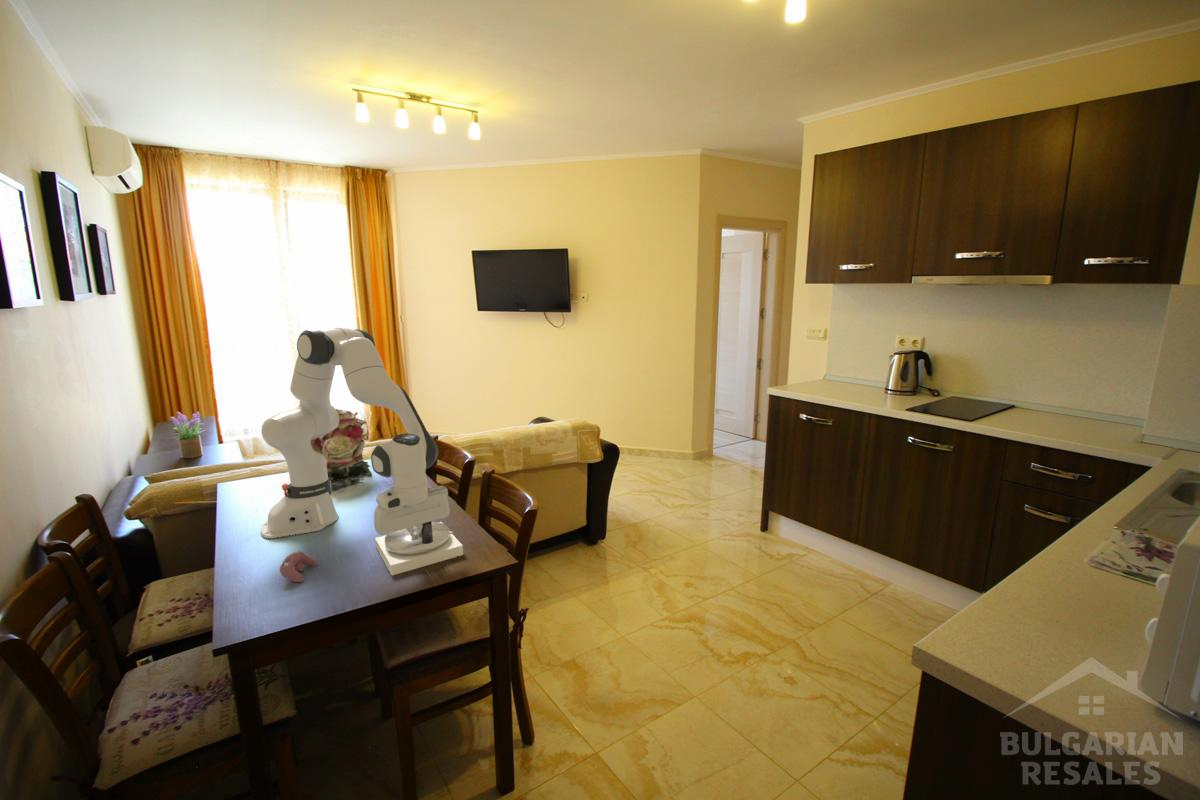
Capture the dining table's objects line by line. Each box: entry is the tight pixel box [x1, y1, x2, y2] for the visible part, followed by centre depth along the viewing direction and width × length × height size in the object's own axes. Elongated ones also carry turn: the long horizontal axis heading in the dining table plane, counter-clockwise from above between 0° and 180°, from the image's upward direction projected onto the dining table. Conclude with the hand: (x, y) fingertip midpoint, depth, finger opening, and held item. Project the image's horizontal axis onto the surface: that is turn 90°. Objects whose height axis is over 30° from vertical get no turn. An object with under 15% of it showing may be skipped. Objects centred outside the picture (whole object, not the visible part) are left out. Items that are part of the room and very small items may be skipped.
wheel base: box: [374, 521, 464, 576], centre depth 157 cm, size 20×20×3 cm
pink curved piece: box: [279, 550, 318, 583], centre depth 145 cm, size 10×5×7 cm, turn 5°
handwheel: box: [385, 521, 450, 556], centre depth 156 cm, size 18×18×8 cm
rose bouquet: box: [311, 408, 373, 492], centre depth 215 cm, size 26×29×30 cm
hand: (415, 539), depth 149 cm, fingers closed
